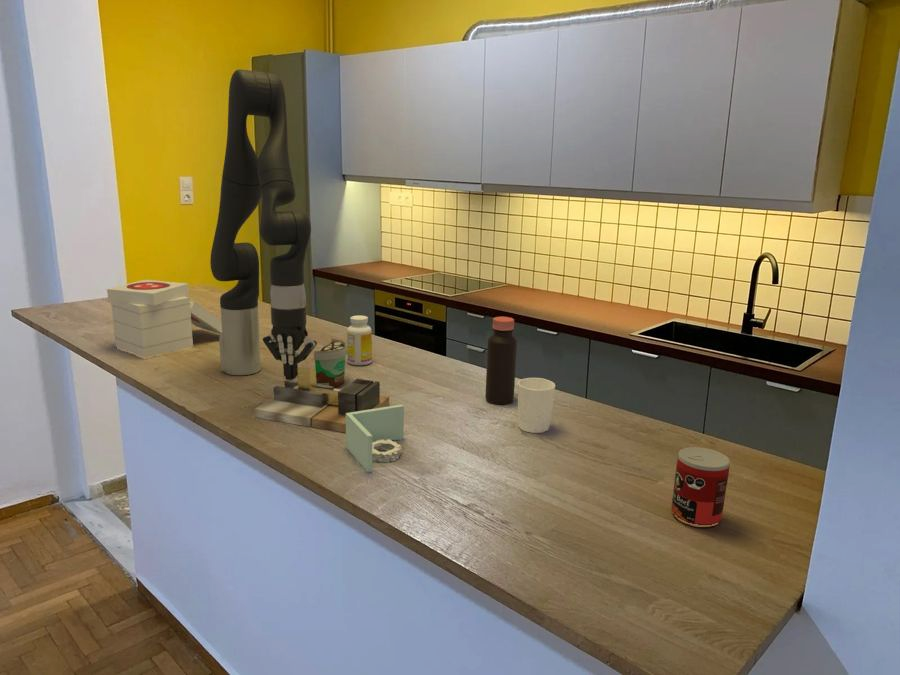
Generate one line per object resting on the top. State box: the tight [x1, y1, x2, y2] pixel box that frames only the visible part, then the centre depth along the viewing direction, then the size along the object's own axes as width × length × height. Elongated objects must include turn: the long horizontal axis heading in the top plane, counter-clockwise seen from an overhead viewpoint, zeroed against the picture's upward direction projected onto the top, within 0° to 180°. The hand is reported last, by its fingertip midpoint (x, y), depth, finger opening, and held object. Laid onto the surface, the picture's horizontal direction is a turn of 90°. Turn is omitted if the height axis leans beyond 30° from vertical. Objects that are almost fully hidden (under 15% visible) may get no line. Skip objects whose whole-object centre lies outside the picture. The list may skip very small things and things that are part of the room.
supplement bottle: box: [346, 315, 373, 367], centre depth 187 cm, size 7×7×13 cm
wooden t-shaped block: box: [294, 364, 339, 405], centre depth 153 cm, size 12×2×7 cm, turn 72°
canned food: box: [670, 446, 731, 525], centre depth 113 cm, size 8×8×11 cm
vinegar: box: [484, 316, 518, 405], centre depth 161 cm, size 7×7×20 cm
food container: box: [313, 338, 348, 389], centre depth 170 cm, size 12×6×10 cm, turn 168°
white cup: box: [517, 377, 556, 434], centre depth 147 cm, size 8×8×10 cm
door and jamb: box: [254, 378, 390, 434], centre depth 153 cm, size 24×18×7 cm
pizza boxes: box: [106, 279, 222, 357], centre depth 198 cm, size 19×30×18 cm, turn 143°
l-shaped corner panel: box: [345, 403, 405, 473], centre depth 133 cm, size 12×12×8 cm
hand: (291, 378), depth 154 cm, fingers closed
